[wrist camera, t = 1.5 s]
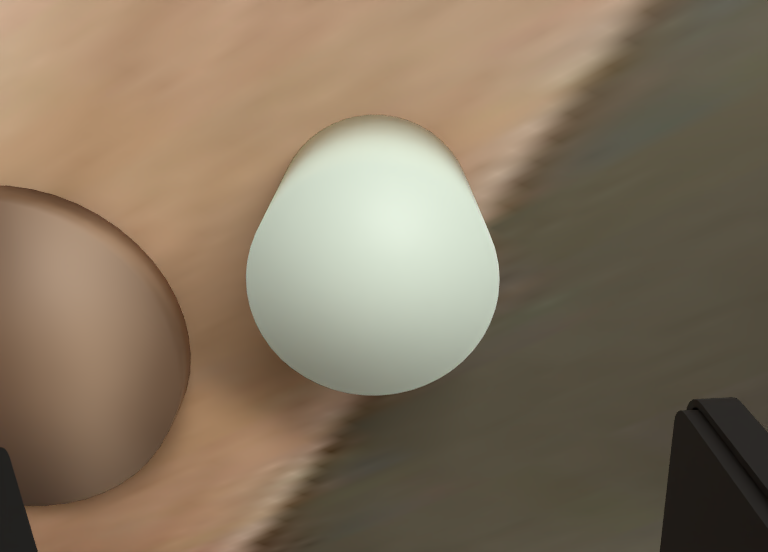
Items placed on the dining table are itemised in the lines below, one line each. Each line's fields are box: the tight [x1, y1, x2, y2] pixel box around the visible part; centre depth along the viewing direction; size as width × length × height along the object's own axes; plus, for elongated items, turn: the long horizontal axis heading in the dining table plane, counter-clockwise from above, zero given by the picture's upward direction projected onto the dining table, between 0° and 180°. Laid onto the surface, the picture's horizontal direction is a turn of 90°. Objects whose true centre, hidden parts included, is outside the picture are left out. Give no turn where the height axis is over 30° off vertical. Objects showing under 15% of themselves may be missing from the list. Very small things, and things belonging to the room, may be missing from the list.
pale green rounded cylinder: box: [246, 115, 499, 395], centre depth 21 cm, size 8×6×6 cm
